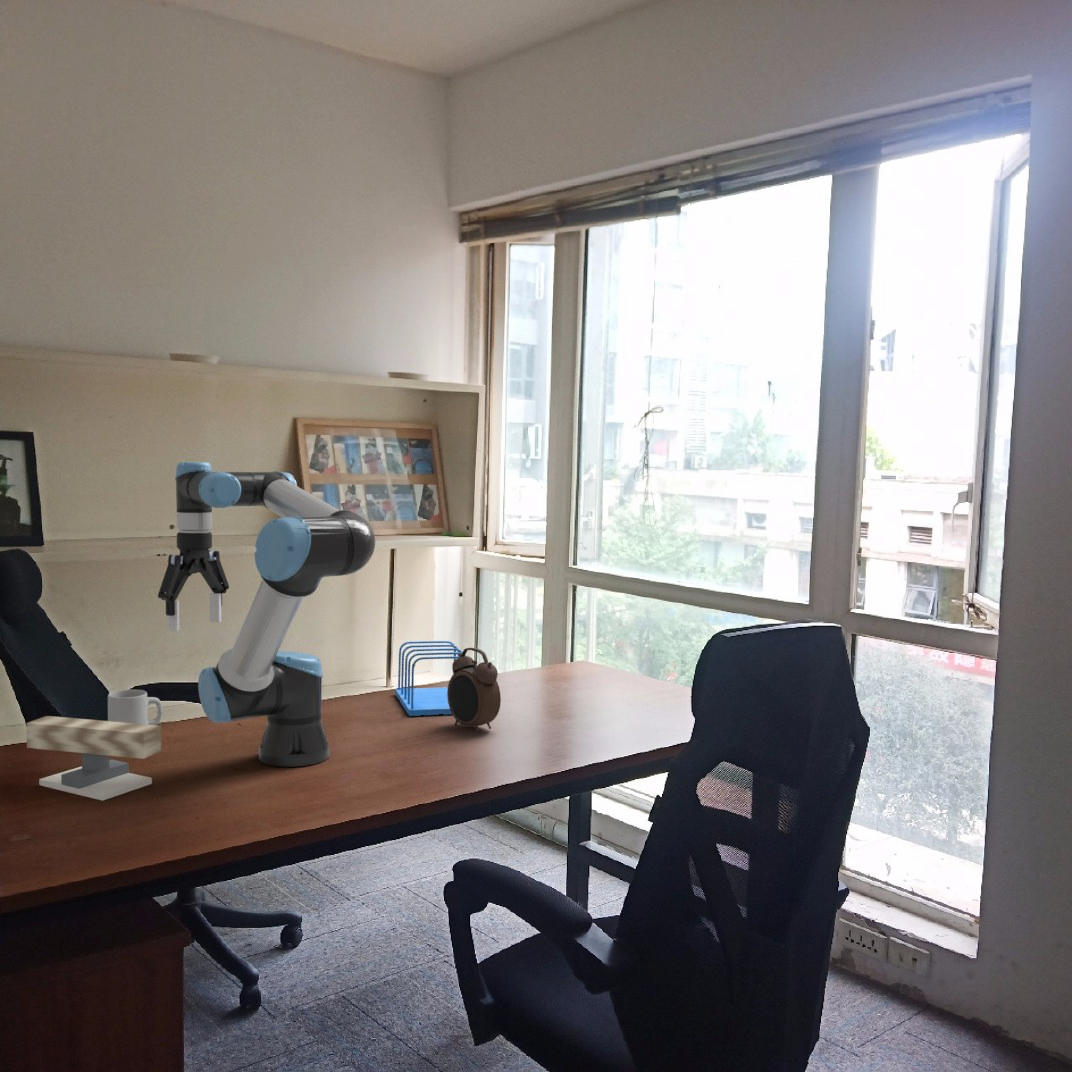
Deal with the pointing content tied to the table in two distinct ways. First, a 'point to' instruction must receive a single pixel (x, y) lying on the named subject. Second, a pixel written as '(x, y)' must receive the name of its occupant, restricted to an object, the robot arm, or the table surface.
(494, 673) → the alarm clock
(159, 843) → the table surface
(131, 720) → the mug
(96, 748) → the oak bar
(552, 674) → the table surface
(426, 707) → the file sorter
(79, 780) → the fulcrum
